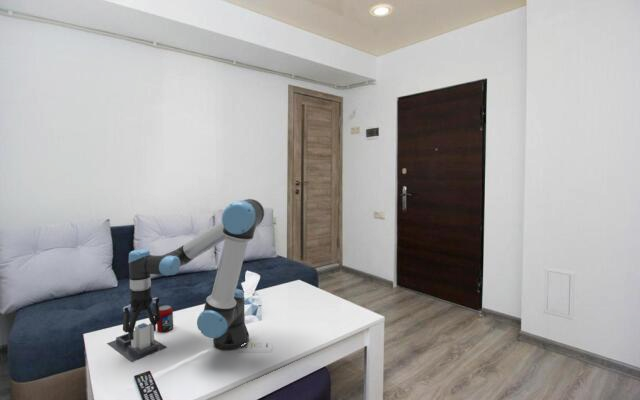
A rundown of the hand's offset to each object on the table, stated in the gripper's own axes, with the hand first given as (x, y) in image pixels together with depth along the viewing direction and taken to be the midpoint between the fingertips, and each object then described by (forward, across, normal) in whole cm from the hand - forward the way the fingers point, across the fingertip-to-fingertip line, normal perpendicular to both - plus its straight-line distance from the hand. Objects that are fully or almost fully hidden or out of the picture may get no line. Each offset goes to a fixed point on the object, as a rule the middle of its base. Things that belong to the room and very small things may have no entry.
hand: (143, 342), depth 136 cm
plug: (+3, 0, 0) cm, 3 cm away
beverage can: (+5, -15, -10) cm, 19 cm away
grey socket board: (+4, 0, -6) cm, 7 cm away
